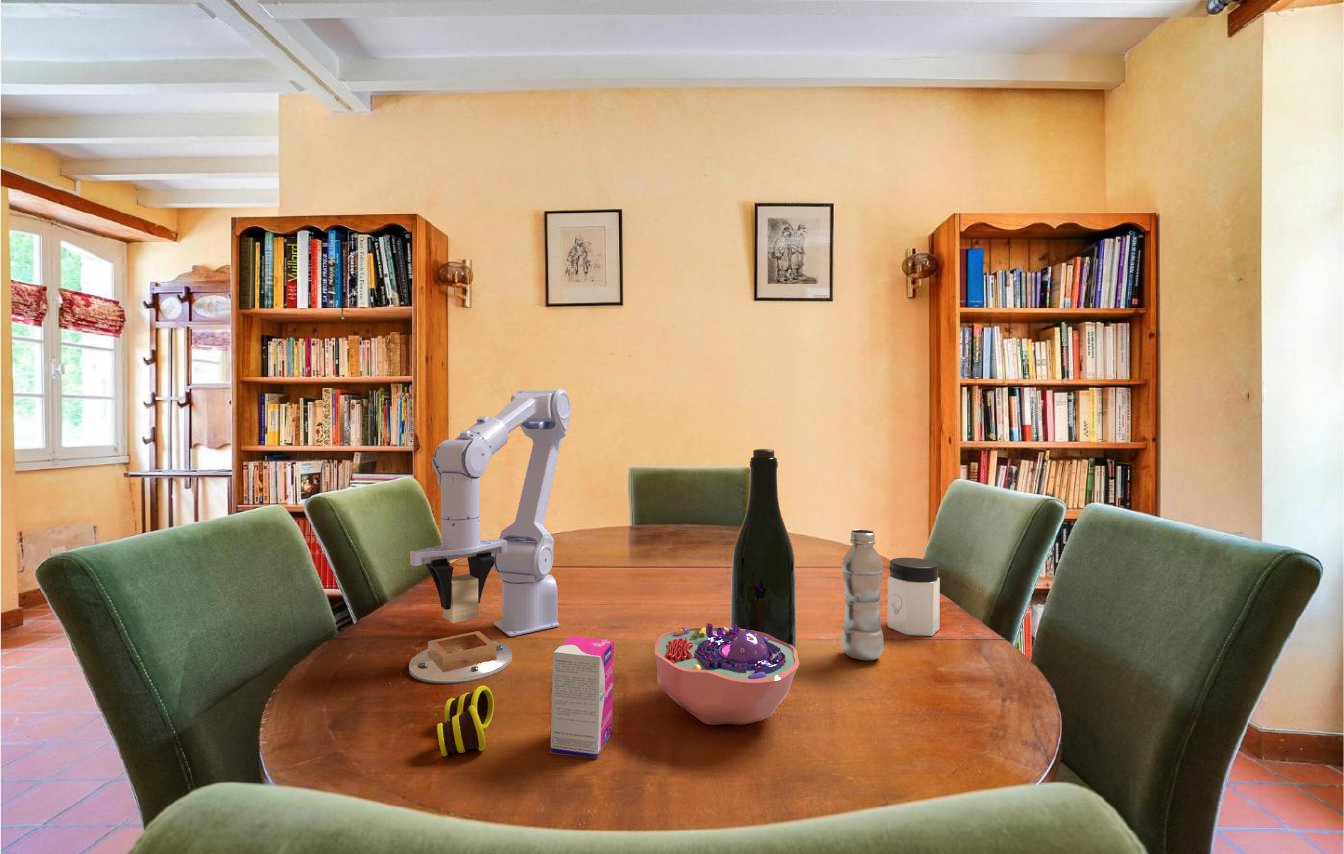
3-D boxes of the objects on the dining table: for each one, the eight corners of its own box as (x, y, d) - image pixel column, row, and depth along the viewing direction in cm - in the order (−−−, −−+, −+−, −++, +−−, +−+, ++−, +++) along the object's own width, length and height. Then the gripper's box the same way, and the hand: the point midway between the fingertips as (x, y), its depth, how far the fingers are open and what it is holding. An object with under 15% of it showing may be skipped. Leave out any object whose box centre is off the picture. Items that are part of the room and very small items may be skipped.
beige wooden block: (467, 611, 97) (467, 573, 97) (478, 617, 94) (478, 578, 94) (442, 616, 94) (442, 578, 94) (452, 623, 91) (452, 583, 91)
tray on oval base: (492, 638, 104) (492, 621, 104) (527, 666, 92) (527, 647, 92) (398, 658, 96) (398, 639, 96) (423, 692, 83) (423, 671, 83)
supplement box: (599, 759, 67) (599, 656, 67) (549, 753, 68) (549, 652, 68) (614, 733, 73) (614, 638, 73) (568, 728, 74) (568, 634, 74)
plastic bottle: (885, 653, 98) (886, 529, 98) (881, 668, 92) (881, 536, 92) (844, 646, 101) (845, 526, 101) (837, 661, 95) (838, 533, 95)
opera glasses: (454, 727, 76) (446, 688, 76) (497, 715, 77) (489, 677, 77) (439, 770, 67) (429, 727, 66) (488, 757, 68) (478, 713, 67)
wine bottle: (745, 638, 105) (746, 447, 104) (805, 650, 99) (805, 448, 99) (719, 659, 96) (719, 449, 95) (783, 673, 90) (784, 451, 90)
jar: (878, 623, 113) (878, 559, 113) (911, 618, 116) (912, 555, 116) (914, 639, 104) (915, 570, 104) (950, 633, 108) (950, 565, 107)
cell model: (709, 671, 91) (709, 596, 91) (827, 718, 77) (827, 628, 77) (622, 708, 79) (622, 622, 79) (742, 772, 65) (742, 666, 65)
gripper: (493, 509, 102) (493, 590, 102) (403, 518, 92) (403, 608, 92) (513, 514, 96) (513, 600, 96) (419, 524, 87) (419, 619, 87)
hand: (460, 605), depth 94 cm, fingers closed on beige wooden block, 4 cm apart
